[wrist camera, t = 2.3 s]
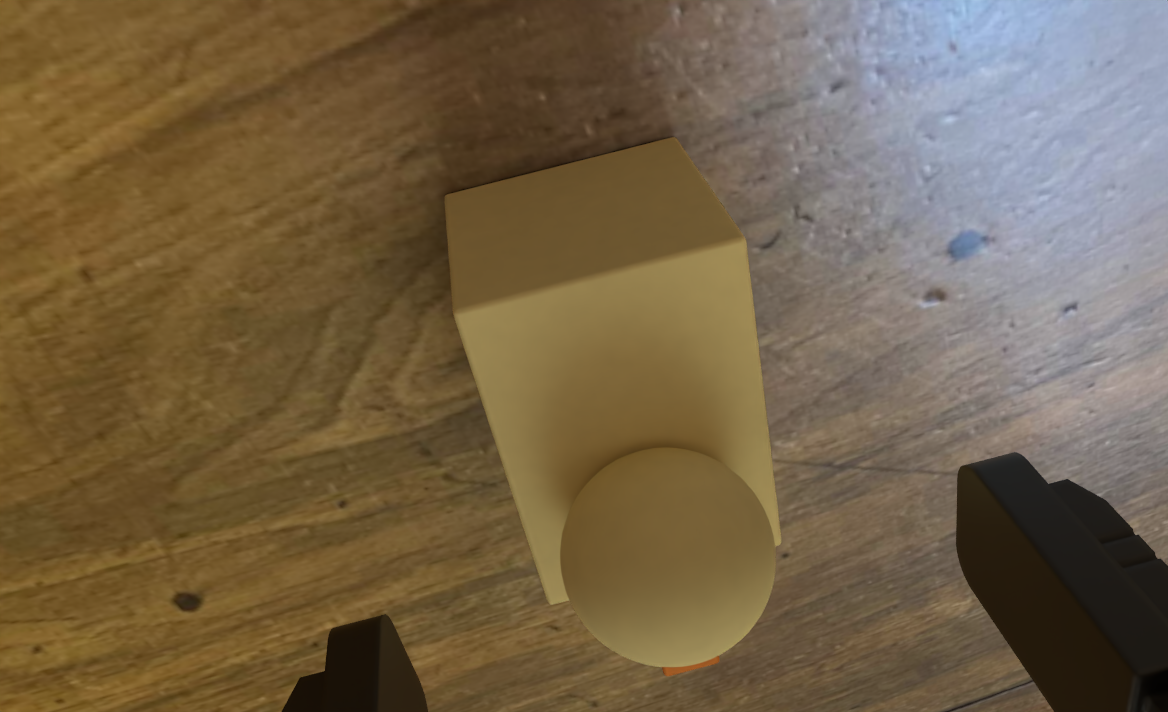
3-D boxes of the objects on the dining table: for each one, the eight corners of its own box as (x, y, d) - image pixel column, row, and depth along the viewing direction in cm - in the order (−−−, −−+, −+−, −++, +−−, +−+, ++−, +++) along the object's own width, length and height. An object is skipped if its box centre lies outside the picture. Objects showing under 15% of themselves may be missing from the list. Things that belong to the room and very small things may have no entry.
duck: (442, 193, 17) (460, 438, 11) (676, 134, 17) (822, 344, 11) (532, 483, 21) (582, 783, 15) (722, 434, 21) (848, 711, 15)
